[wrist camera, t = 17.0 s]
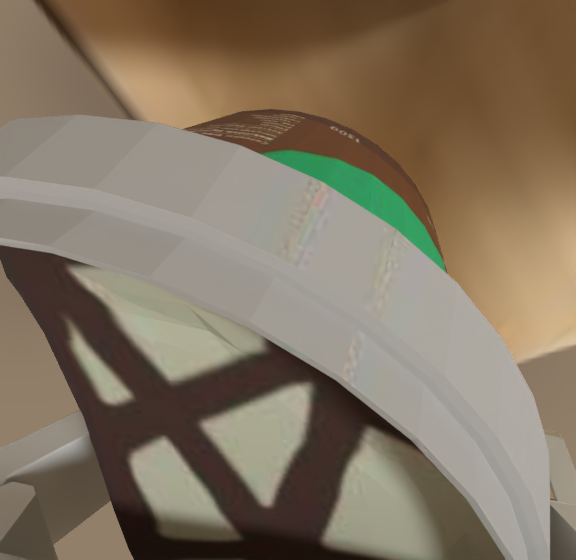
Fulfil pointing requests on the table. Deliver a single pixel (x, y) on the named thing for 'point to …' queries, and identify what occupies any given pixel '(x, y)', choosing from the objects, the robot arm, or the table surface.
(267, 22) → the table surface
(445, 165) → the table surface
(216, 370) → the food container
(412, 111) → the table surface
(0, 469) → the robot arm
